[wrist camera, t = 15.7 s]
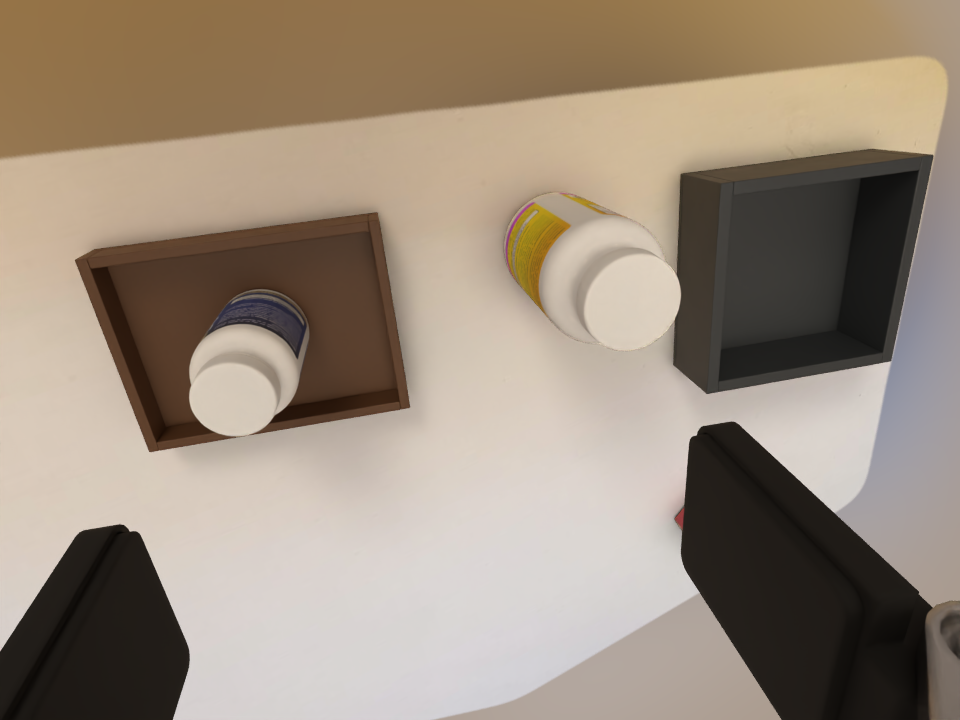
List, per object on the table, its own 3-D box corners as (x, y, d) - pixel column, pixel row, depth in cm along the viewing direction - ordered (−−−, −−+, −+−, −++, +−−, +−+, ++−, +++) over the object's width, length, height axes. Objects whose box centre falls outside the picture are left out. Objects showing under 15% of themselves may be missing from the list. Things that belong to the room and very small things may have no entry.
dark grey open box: (673, 365, 44) (706, 394, 40) (680, 173, 38) (721, 183, 34) (841, 336, 45) (891, 361, 41) (872, 148, 40) (934, 154, 36)
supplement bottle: (512, 303, 40) (572, 387, 28) (491, 205, 37) (549, 253, 25) (607, 278, 40) (705, 350, 29) (594, 178, 37) (697, 214, 26)
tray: (161, 432, 39) (149, 452, 37) (93, 249, 34) (74, 259, 32) (407, 391, 41) (410, 408, 39) (377, 212, 36) (378, 219, 34)
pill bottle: (210, 290, 36) (159, 353, 27) (303, 284, 36) (283, 343, 28) (228, 372, 38) (185, 455, 29) (315, 364, 39) (299, 443, 30)
